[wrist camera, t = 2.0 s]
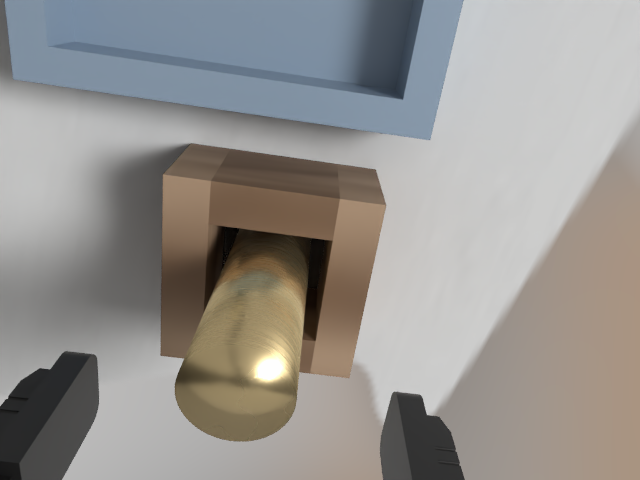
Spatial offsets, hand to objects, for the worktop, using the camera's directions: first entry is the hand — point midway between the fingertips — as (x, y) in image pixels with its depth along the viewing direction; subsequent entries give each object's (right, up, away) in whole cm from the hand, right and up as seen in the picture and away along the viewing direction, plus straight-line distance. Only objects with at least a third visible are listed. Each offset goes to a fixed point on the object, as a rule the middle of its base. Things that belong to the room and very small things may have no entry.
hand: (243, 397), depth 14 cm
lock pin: (0, +4, +9) cm, 10 cm away
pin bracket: (0, +4, +9) cm, 10 cm away
